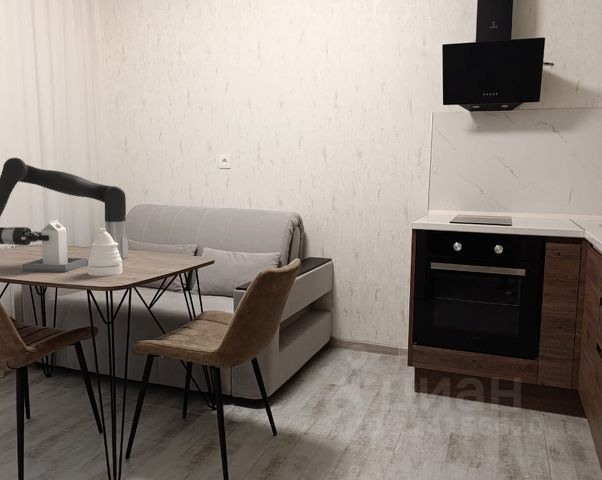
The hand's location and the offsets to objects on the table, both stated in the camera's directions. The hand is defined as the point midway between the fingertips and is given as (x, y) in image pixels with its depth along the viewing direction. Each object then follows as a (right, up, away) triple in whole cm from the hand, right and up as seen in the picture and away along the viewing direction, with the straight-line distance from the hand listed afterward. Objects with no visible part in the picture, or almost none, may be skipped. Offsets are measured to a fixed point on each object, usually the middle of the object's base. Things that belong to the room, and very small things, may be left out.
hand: (54, 236), depth 229 cm
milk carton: (0, -12, +1) cm, 12 cm away
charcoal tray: (0, -13, +2) cm, 13 cm away
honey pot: (+24, -15, -9) cm, 30 cm away
